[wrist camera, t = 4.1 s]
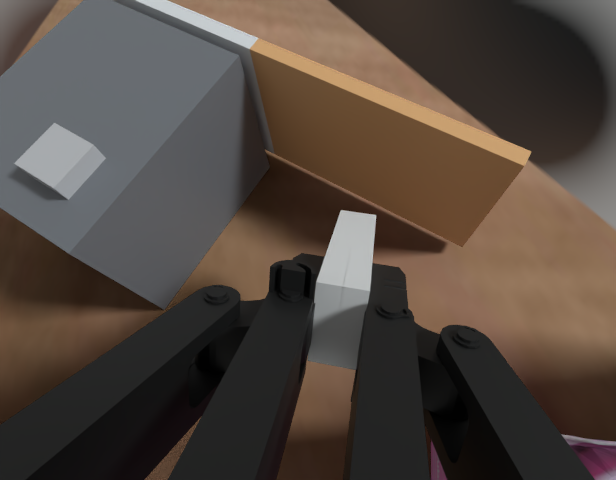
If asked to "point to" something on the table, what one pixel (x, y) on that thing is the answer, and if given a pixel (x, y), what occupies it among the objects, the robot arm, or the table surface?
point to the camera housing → (128, 145)
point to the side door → (362, 132)
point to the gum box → (593, 453)
